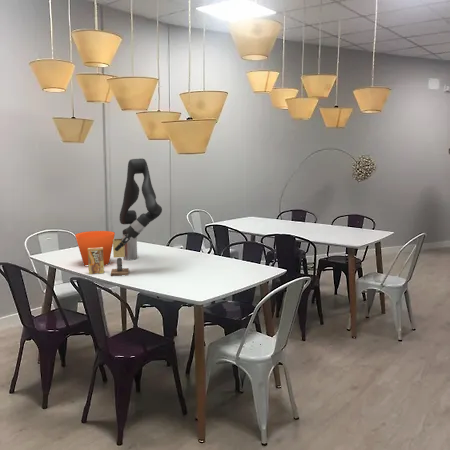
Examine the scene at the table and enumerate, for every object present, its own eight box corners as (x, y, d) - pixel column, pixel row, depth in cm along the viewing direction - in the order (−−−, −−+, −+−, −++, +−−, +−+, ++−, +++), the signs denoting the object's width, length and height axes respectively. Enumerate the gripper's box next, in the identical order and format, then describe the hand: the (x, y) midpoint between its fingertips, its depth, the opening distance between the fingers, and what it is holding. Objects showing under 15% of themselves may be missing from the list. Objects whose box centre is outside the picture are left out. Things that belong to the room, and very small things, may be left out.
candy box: (104, 271, 297) (102, 247, 294) (104, 273, 293) (103, 248, 290) (88, 272, 294) (87, 247, 292) (88, 274, 290) (87, 249, 288)
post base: (111, 271, 297) (111, 256, 296) (128, 270, 299) (128, 255, 298) (110, 276, 286) (110, 260, 284) (128, 275, 287) (127, 259, 286)
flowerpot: (90, 258, 334) (88, 230, 331) (122, 260, 327) (121, 231, 324) (68, 266, 310) (67, 236, 307) (103, 269, 303) (102, 237, 300)
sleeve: (114, 255, 293) (113, 239, 292) (124, 254, 294) (124, 238, 293) (113, 257, 287) (112, 240, 286) (124, 257, 288) (123, 240, 287)
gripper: (131, 223, 296) (112, 242, 296) (130, 226, 282) (110, 247, 282) (140, 231, 298) (121, 251, 298) (140, 235, 284) (120, 255, 284)
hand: (116, 249), depth 290 cm, fingers closed on sleeve, 6 cm apart
